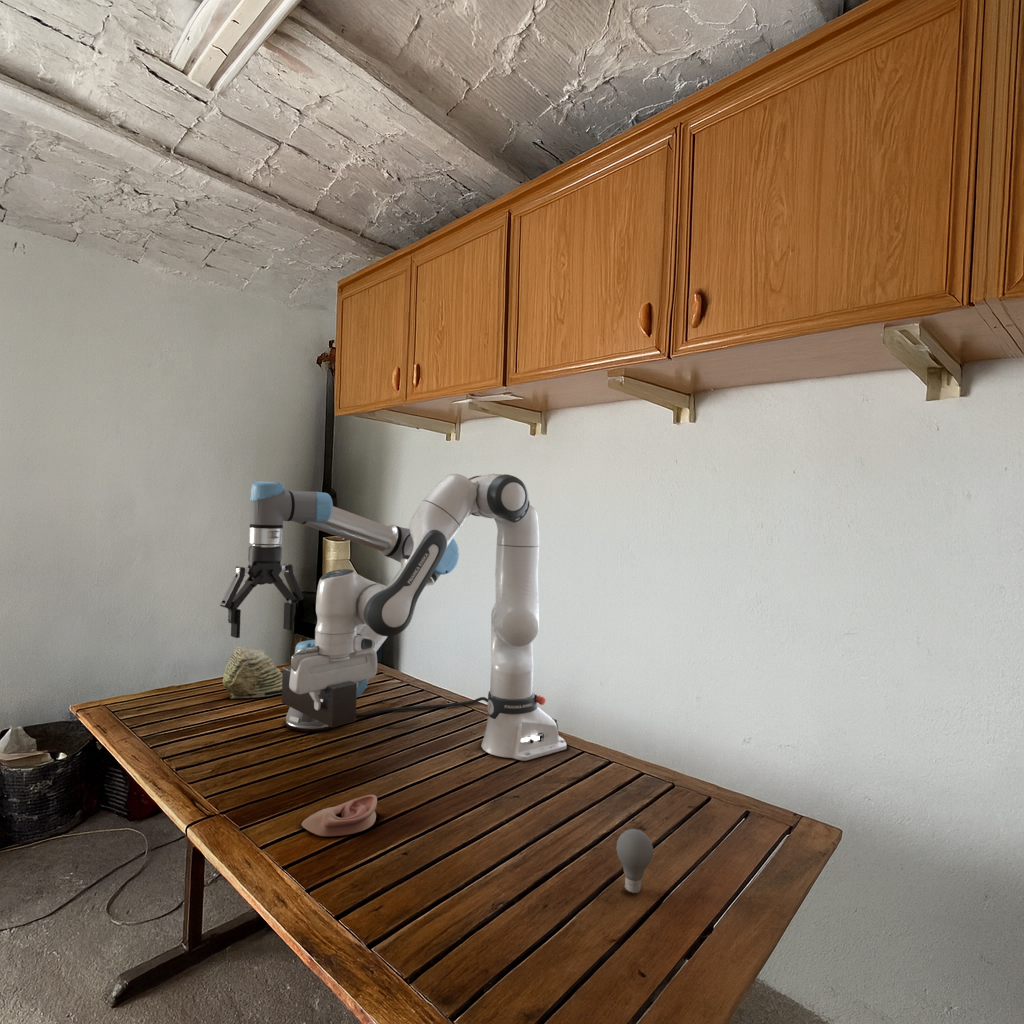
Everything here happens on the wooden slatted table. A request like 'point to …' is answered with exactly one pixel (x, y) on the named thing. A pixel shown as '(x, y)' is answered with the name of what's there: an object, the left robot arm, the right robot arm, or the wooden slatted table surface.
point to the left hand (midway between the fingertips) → (262, 633)
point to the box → (335, 700)
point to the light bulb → (634, 857)
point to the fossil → (251, 674)
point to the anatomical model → (343, 817)
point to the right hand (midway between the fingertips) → (334, 705)
